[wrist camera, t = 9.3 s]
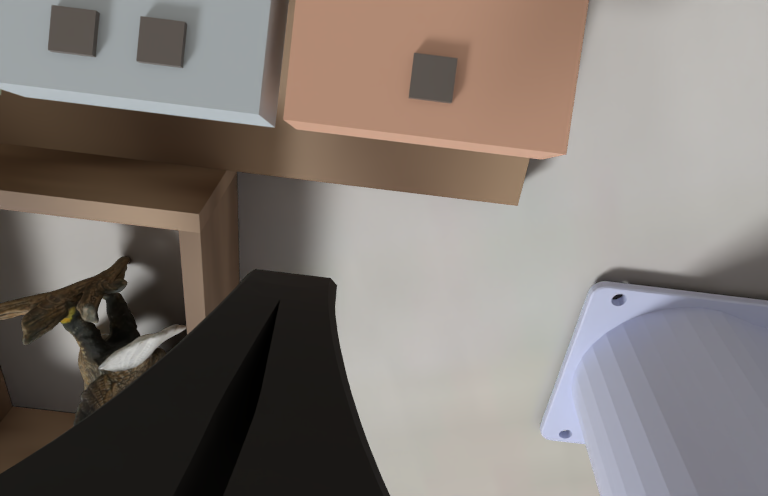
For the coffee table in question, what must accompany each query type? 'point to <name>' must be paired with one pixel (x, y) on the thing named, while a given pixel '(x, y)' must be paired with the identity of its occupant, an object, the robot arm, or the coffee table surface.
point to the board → (197, 190)
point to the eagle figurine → (94, 333)
